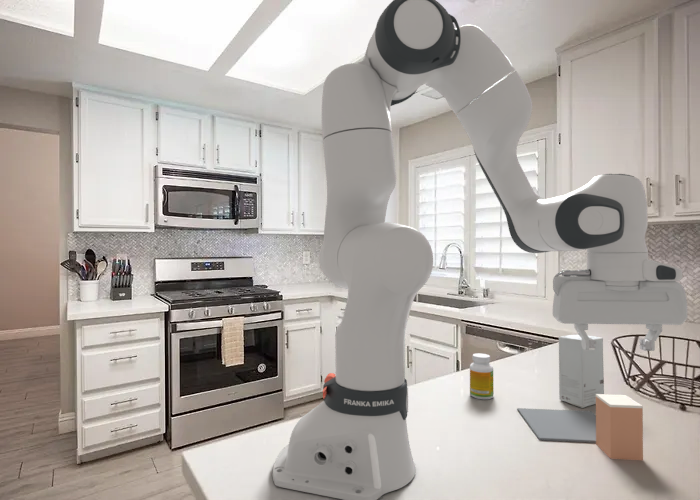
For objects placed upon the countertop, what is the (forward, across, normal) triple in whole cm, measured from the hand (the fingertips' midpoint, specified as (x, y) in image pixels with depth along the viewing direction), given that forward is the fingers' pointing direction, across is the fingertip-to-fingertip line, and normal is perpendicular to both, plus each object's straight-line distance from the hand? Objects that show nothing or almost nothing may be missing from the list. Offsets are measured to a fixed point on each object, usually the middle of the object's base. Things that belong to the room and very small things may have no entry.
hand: (617, 349), depth 70 cm
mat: (+18, -5, +10) cm, 21 cm away
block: (+18, 0, 0) cm, 18 cm away
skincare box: (+18, +4, +24) cm, 30 cm away
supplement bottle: (+18, -18, +25) cm, 35 cm away
